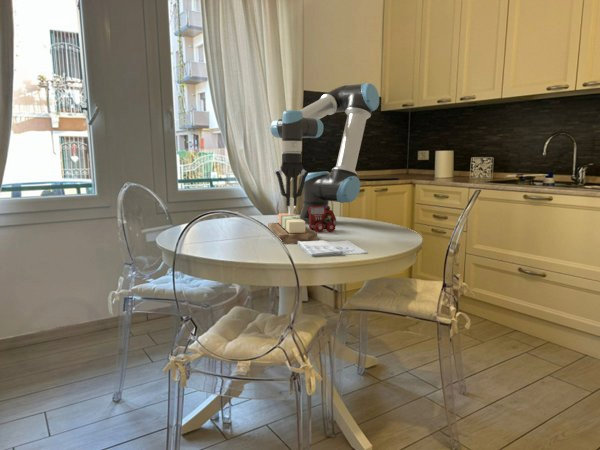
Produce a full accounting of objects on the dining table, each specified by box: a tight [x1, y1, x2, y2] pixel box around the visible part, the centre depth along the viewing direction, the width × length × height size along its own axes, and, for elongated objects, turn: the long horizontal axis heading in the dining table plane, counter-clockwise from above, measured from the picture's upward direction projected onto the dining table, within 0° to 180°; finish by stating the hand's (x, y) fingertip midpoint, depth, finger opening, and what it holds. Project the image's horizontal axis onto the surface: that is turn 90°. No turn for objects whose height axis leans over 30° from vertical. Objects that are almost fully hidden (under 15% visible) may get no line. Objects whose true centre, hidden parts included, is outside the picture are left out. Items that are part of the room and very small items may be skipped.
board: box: [267, 221, 318, 244], centre depth 169 cm, size 14×26×3 cm, turn 13°
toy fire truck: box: [308, 205, 337, 234], centre depth 179 cm, size 7×12×10 cm, turn 113°
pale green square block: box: [282, 215, 300, 229], centre depth 168 cm, size 6×6×4 cm
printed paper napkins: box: [297, 239, 368, 257], centre depth 147 cm, size 19×20×2 cm
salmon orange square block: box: [277, 212, 297, 226], centre depth 176 cm, size 6×6×4 cm
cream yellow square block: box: [286, 219, 306, 233], centre depth 161 cm, size 6×6×4 cm
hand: (291, 214), depth 168 cm, fingers closed
